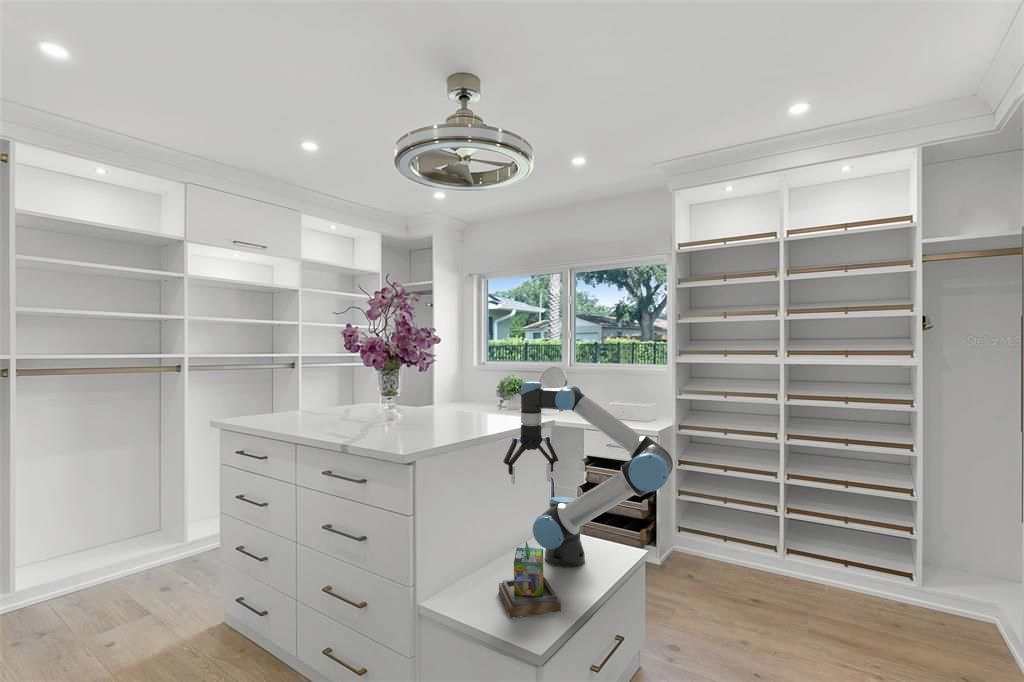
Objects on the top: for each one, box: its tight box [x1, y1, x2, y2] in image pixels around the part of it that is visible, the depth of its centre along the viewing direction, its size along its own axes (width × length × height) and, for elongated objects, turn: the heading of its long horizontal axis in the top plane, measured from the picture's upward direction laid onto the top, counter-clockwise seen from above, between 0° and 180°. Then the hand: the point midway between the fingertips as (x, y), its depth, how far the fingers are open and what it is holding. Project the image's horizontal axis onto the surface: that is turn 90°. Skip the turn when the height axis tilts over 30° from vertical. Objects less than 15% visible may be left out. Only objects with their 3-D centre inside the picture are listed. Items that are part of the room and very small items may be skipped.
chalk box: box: [513, 541, 544, 597], centre depth 160 cm, size 9×9×15 cm
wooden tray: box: [498, 576, 562, 619], centre depth 160 cm, size 16×16×4 cm
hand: (530, 482), depth 183 cm, fingers open, 13 cm apart
